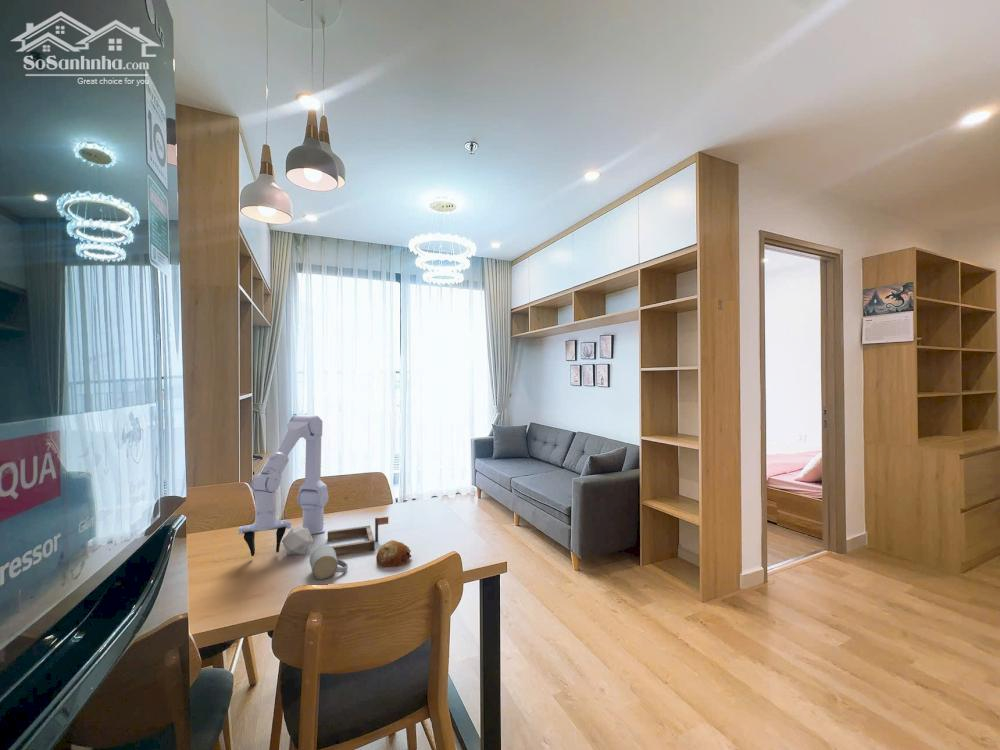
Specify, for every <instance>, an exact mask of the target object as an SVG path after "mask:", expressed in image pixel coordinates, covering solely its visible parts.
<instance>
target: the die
mask: <svg viewBox="0 0 1000 750" xmlns="http://www.w3.org/2000/svg"><path fill="white" fill-rule="evenodd" d="M281 542H282V544H283V547H284V548H285V551H286V553H287V555H288V556H290V555H293V556H295V555H305V553H306V552H307V551H308V549H309V548H310V547H311V545H312V544H313V542H314V538H313V537H312V534H310V532H309V529H308V528H302V527H291V528H290V530H289V531H288V533H287V534H286V535H285V536H284V537H283V538H282V540H281Z"/></svg>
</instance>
